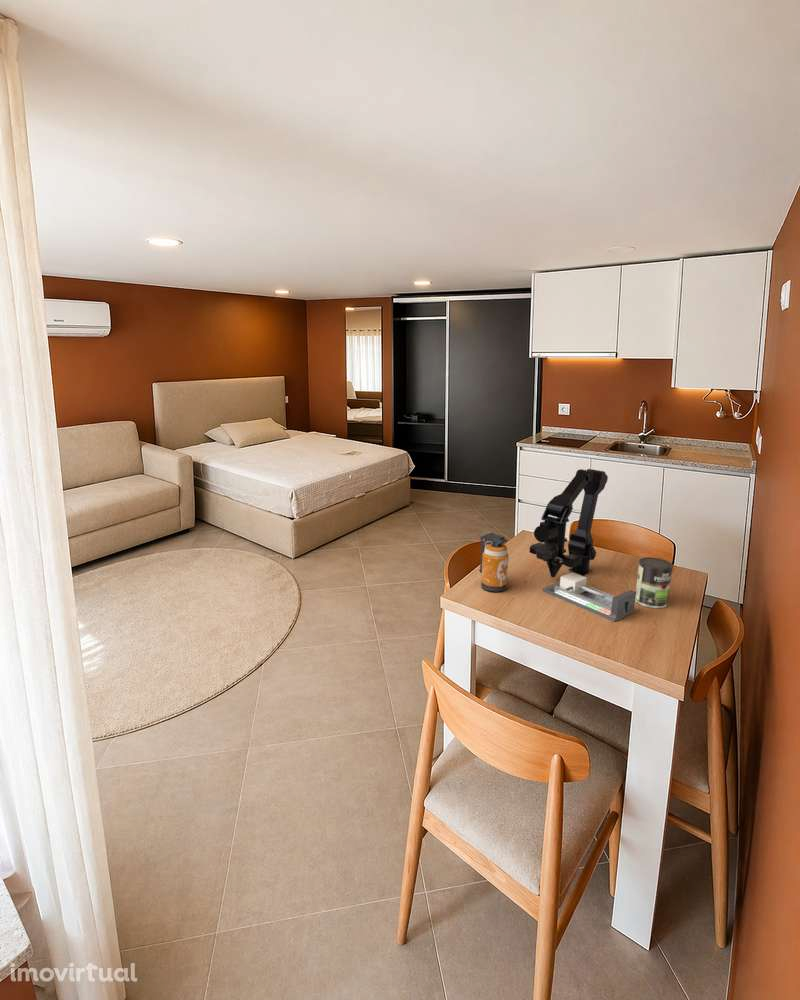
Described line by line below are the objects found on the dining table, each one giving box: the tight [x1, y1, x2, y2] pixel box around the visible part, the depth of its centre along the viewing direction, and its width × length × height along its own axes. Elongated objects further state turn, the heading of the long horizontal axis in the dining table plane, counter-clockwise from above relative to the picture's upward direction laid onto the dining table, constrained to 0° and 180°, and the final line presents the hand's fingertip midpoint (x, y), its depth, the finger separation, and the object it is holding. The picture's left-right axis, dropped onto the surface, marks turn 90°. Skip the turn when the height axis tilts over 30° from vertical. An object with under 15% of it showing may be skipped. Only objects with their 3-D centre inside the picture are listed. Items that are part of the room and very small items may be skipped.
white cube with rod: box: [559, 571, 605, 598], centre depth 184 cm, size 9×15×5 cm, turn 37°
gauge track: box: [542, 581, 637, 622], centre depth 183 cm, size 12×28×7 cm, turn 37°
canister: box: [478, 531, 510, 593], centre depth 192 cm, size 9×11×20 cm
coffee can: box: [635, 556, 674, 609], centre depth 182 cm, size 10×10×14 cm
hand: (553, 577), depth 195 cm, fingers closed
